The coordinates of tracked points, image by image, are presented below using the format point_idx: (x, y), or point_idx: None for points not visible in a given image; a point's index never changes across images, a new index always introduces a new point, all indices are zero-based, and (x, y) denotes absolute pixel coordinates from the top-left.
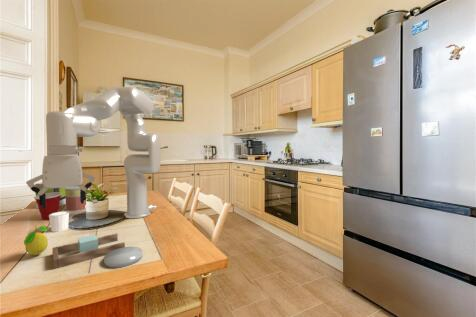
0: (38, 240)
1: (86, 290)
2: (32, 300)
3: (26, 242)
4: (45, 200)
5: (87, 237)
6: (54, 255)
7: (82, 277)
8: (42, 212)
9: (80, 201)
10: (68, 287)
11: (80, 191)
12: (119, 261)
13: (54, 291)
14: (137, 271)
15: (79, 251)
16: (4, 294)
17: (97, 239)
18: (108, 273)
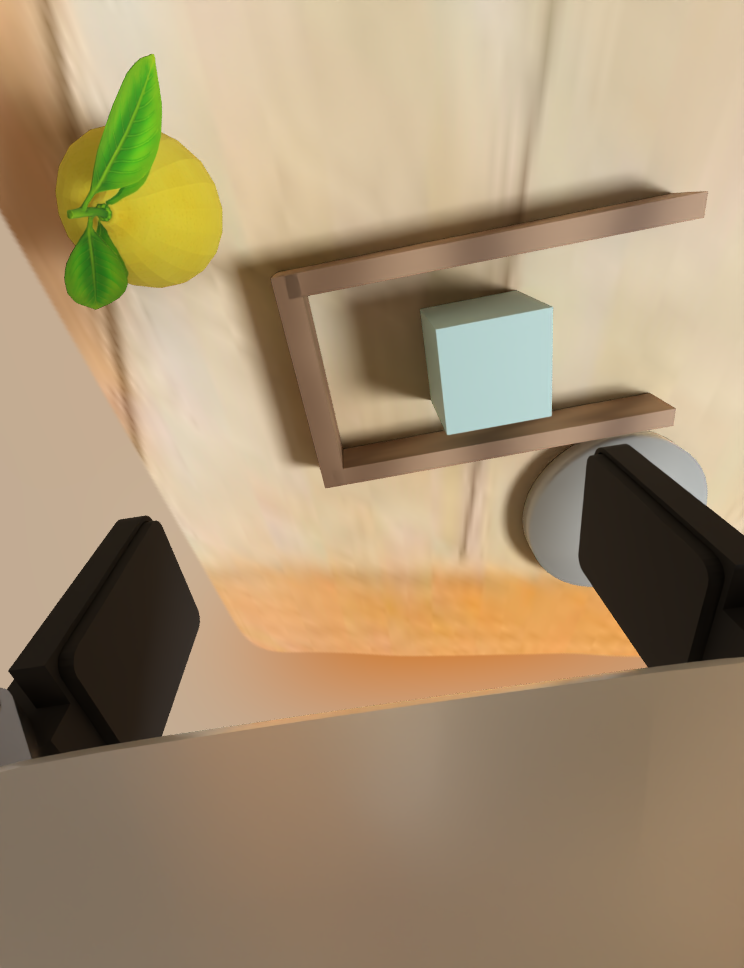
0: (167, 278)
1: (448, 651)
2: (309, 639)
3: (97, 302)
4: (171, 697)
5: (496, 344)
6: (313, 422)
7: (438, 579)
8: None
9: (589, 467)
10: (398, 618)
11: (691, 638)
12: (579, 575)
13: (360, 621)
14: (610, 617)
15: (431, 374)
16: (209, 577)
17: (548, 415)
18: (522, 591)
